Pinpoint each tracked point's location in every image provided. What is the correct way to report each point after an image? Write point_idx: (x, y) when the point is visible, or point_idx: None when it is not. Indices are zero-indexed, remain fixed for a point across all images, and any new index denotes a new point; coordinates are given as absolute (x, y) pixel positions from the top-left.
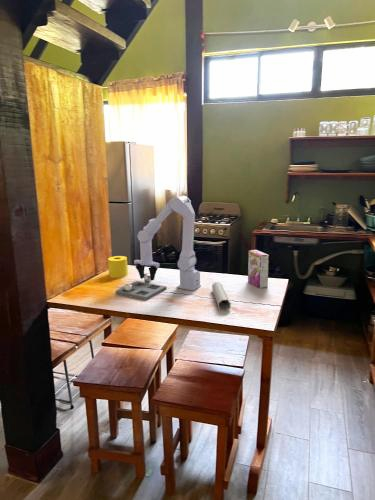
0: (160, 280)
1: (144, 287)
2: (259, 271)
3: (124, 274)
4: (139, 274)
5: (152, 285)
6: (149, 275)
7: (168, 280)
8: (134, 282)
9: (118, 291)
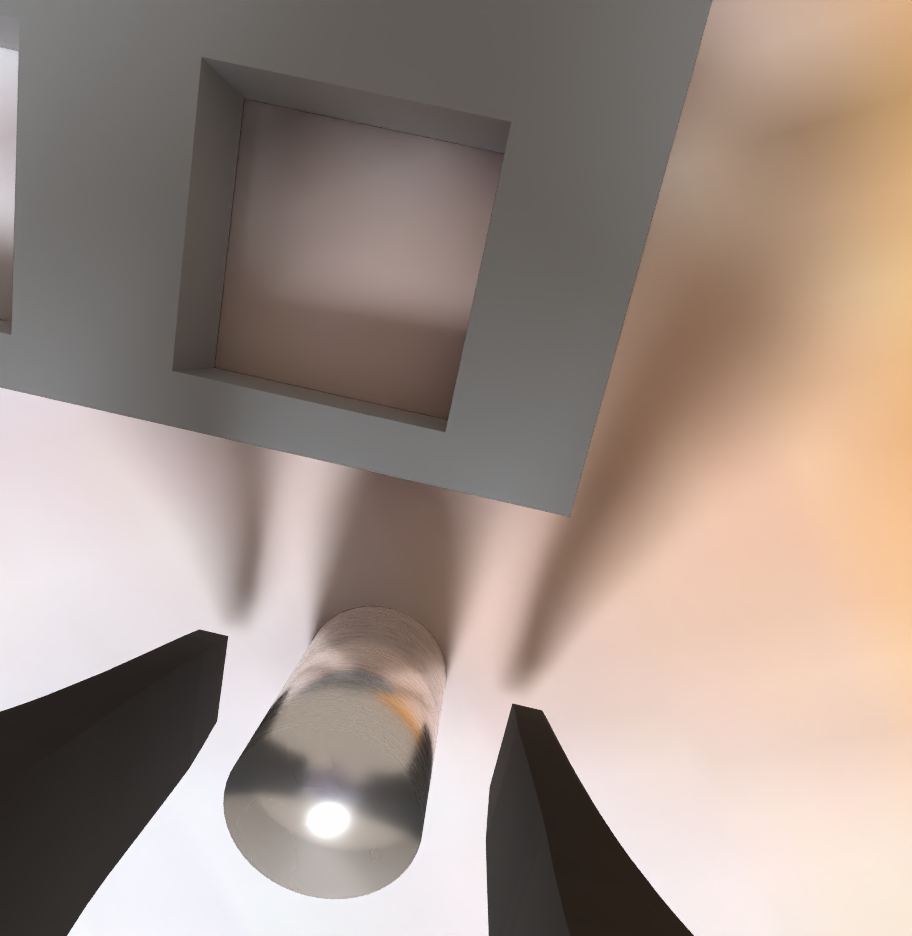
0: None
1: (79, 20)
2: None
3: None
4: (579, 786)
5: (30, 333)
6: (235, 769)
7: None
8: (572, 370)
9: None
